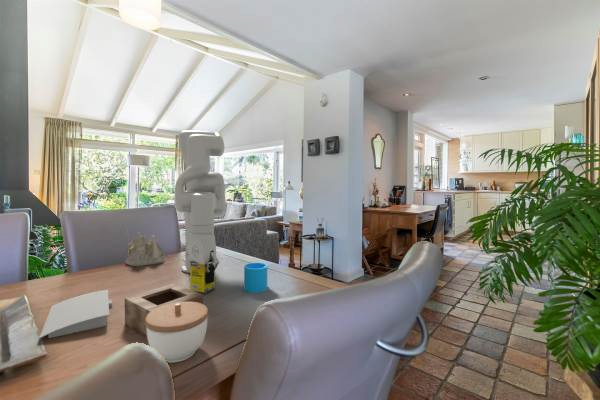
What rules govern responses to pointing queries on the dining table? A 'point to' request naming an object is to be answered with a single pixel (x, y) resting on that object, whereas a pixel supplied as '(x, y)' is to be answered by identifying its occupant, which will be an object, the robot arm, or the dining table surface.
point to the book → (77, 314)
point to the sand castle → (144, 251)
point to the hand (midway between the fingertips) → (202, 280)
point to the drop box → (155, 303)
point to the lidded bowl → (177, 329)
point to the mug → (255, 277)
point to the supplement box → (199, 278)
